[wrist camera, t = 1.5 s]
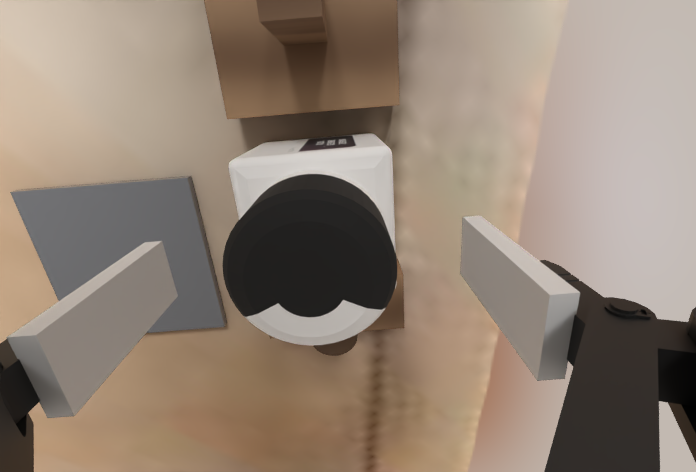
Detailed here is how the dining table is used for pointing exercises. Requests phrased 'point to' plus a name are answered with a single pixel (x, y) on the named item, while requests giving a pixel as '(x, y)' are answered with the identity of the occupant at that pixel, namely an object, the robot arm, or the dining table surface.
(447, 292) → the dining table surface
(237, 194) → the container
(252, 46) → the pair of wooden stands
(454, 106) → the dining table surface
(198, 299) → the plate
